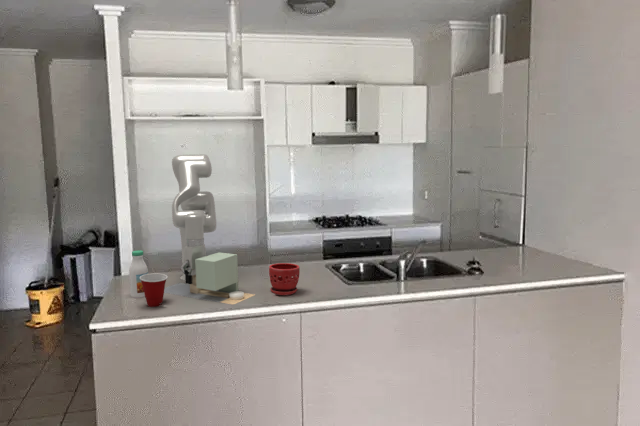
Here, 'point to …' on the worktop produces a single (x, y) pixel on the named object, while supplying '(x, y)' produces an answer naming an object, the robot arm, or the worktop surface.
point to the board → (185, 291)
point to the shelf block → (217, 272)
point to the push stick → (203, 291)
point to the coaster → (236, 295)
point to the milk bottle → (137, 274)
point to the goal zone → (237, 300)
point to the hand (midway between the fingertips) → (196, 280)
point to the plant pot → (284, 278)
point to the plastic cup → (153, 288)
